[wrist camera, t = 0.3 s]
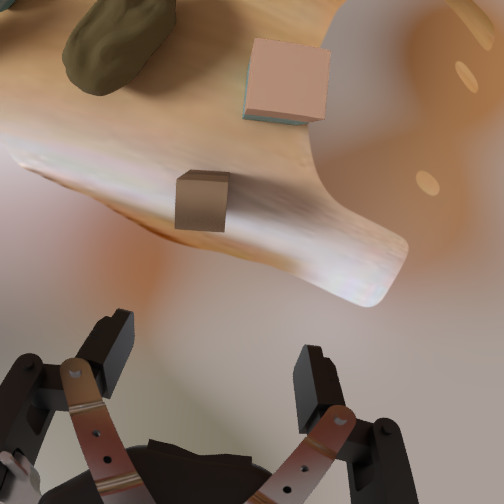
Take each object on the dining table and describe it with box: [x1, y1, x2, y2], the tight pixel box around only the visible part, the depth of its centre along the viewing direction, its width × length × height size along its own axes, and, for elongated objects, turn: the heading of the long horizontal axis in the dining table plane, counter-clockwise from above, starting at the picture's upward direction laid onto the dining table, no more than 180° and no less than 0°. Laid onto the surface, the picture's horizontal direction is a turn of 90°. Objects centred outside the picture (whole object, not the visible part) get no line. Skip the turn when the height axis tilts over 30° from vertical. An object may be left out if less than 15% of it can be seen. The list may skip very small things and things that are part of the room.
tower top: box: [244, 38, 331, 123], centre depth 26 cm, size 7×7×6 cm
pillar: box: [175, 170, 229, 232], centre depth 34 cm, size 5×5×10 cm
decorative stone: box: [62, 0, 176, 96], centre depth 26 cm, size 17×11×10 cm, turn 146°
